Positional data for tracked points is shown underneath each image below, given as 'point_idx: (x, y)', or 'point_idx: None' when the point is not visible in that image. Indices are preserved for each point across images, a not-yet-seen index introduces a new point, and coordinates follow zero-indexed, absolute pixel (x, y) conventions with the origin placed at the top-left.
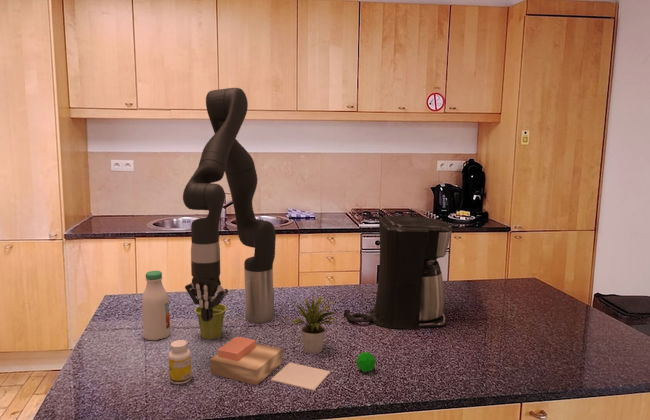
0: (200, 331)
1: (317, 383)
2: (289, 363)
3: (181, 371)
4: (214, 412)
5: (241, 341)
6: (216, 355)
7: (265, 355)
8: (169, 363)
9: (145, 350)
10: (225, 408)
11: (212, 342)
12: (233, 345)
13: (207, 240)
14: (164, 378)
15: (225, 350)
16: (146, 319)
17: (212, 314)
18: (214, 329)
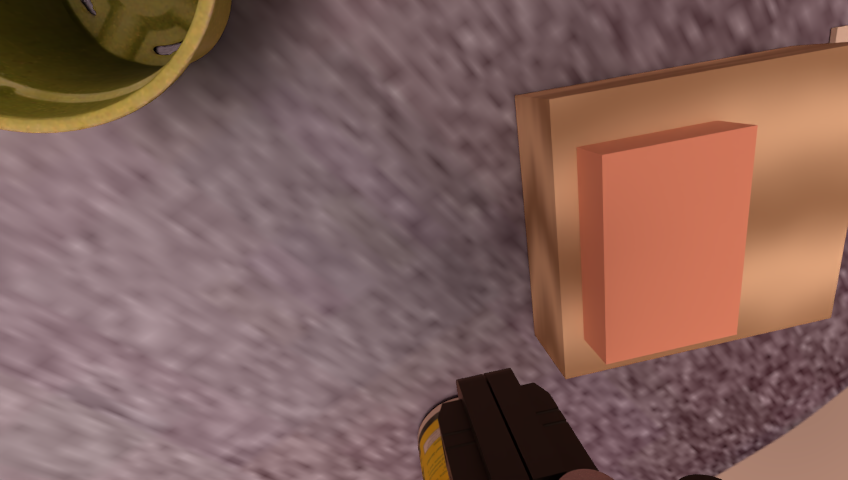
0: (93, 60)
1: None
2: (840, 39)
3: None
4: (709, 471)
5: (677, 201)
6: (568, 334)
7: (814, 174)
8: None
9: (44, 384)
10: (729, 441)
11: (260, 74)
12: (660, 273)
13: None
14: (396, 463)
15: (655, 346)
16: None
17: (561, 417)
18: (214, 22)
